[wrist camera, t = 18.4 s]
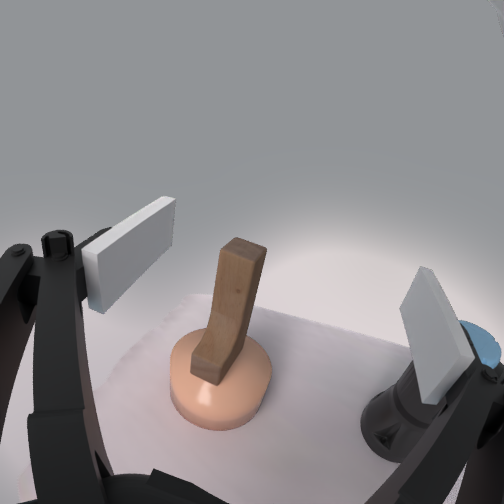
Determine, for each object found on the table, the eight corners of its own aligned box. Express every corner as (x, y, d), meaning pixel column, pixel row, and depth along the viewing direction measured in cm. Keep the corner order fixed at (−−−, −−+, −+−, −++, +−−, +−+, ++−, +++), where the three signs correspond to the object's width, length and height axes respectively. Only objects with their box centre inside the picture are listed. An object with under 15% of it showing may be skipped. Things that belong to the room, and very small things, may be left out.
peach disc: (268, 373, 53) (278, 343, 49) (249, 442, 39) (260, 417, 36) (189, 348, 54) (192, 317, 50) (155, 410, 41) (153, 381, 37)
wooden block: (217, 387, 39) (238, 280, 30) (188, 373, 40) (199, 264, 32) (243, 348, 46) (268, 247, 38) (217, 337, 48) (235, 235, 39)
